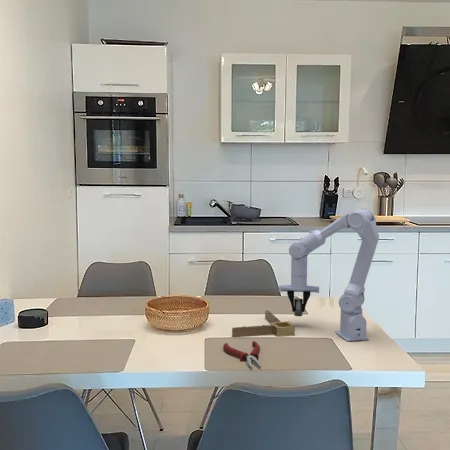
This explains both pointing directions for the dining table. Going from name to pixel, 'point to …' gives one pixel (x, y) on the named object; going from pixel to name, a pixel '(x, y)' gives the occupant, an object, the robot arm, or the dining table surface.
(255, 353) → the pliers
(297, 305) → the hinge pin
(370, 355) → the dining table surface
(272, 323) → the hinge
